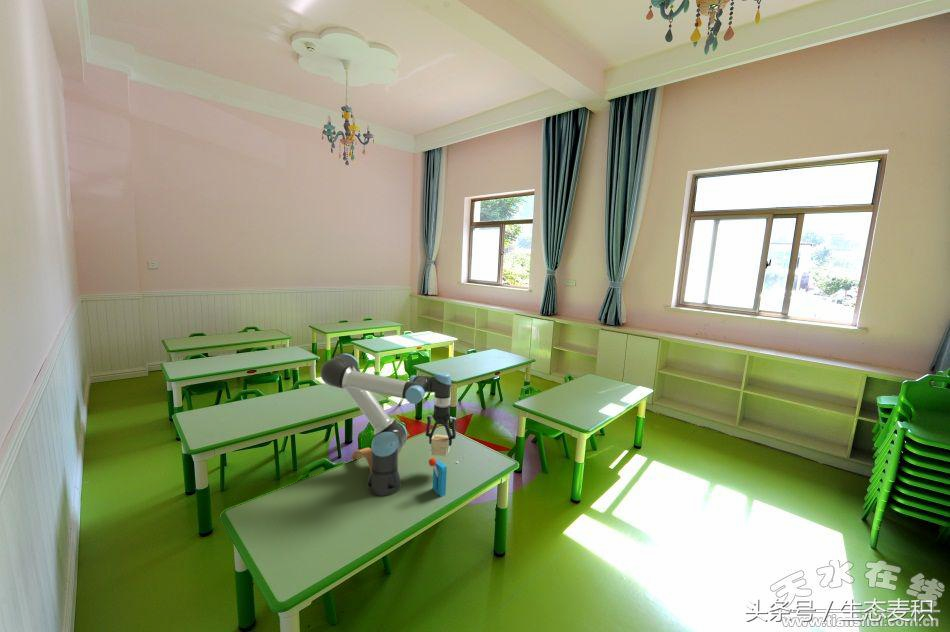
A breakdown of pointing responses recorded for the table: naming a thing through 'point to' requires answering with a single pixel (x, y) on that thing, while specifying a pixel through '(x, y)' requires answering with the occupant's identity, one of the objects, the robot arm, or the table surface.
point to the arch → (366, 453)
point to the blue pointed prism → (439, 476)
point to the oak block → (439, 445)
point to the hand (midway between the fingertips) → (440, 450)
